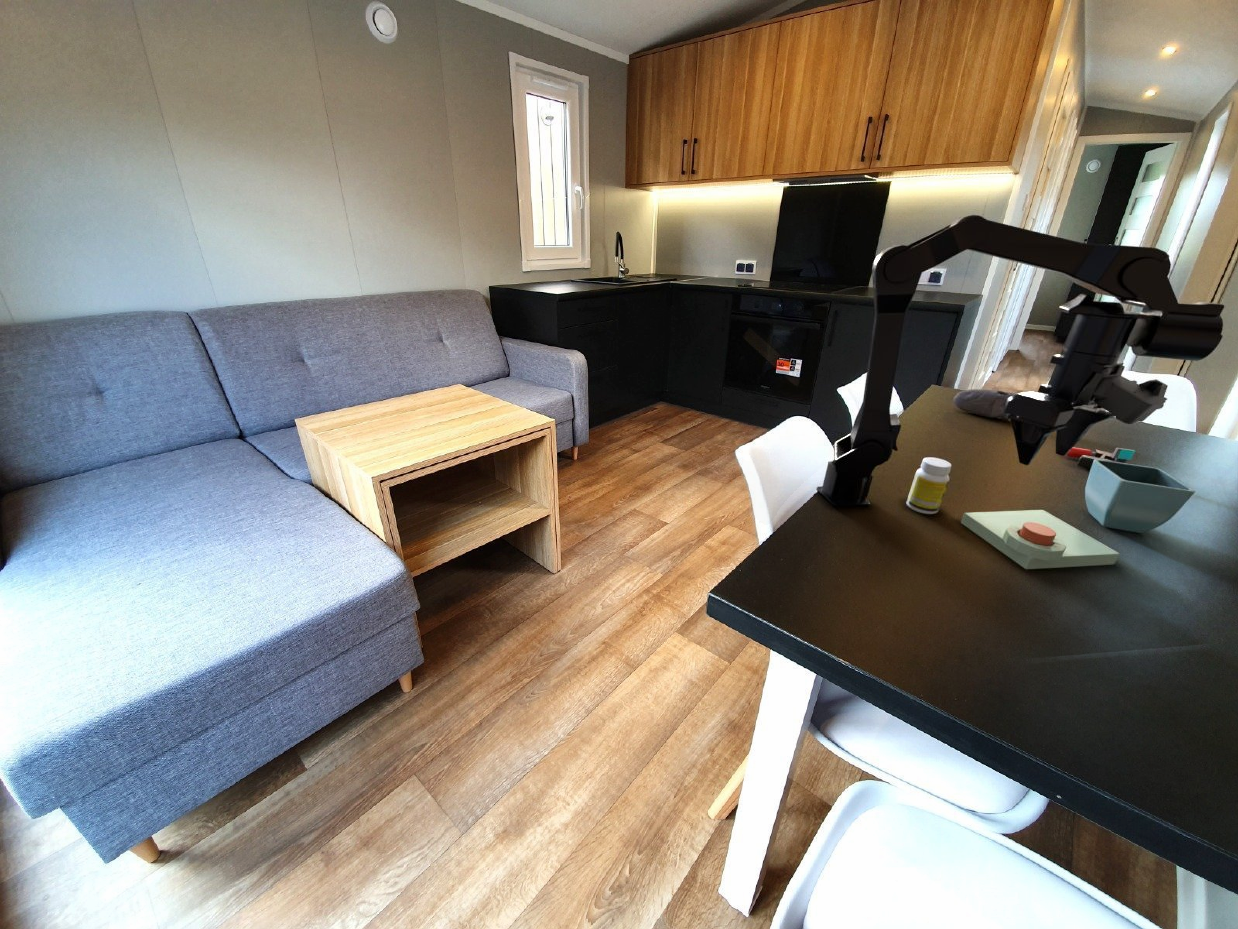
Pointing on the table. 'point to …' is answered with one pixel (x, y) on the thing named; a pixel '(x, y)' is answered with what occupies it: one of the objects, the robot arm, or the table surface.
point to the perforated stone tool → (983, 402)
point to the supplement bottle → (929, 485)
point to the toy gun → (1099, 456)
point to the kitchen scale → (1062, 552)
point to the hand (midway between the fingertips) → (1042, 459)
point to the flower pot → (1133, 495)
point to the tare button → (1037, 533)
